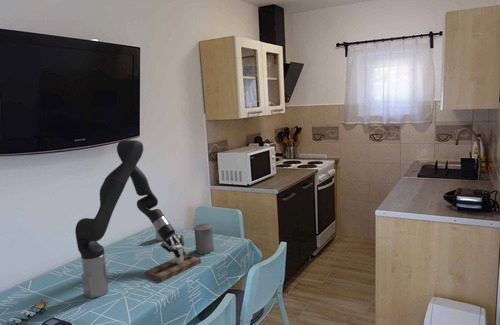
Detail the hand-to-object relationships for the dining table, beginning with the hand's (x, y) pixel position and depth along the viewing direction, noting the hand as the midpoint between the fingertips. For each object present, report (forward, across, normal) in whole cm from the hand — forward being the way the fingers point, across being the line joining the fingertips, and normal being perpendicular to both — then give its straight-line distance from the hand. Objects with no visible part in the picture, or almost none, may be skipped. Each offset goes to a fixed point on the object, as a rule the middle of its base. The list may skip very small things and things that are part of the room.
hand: (181, 255), depth 190 cm
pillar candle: (0, +22, +9) cm, 23 cm away
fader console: (+3, -4, +6) cm, 8 cm away
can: (-25, +22, +34) cm, 48 cm away
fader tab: (+2, 0, +5) cm, 5 cm away
